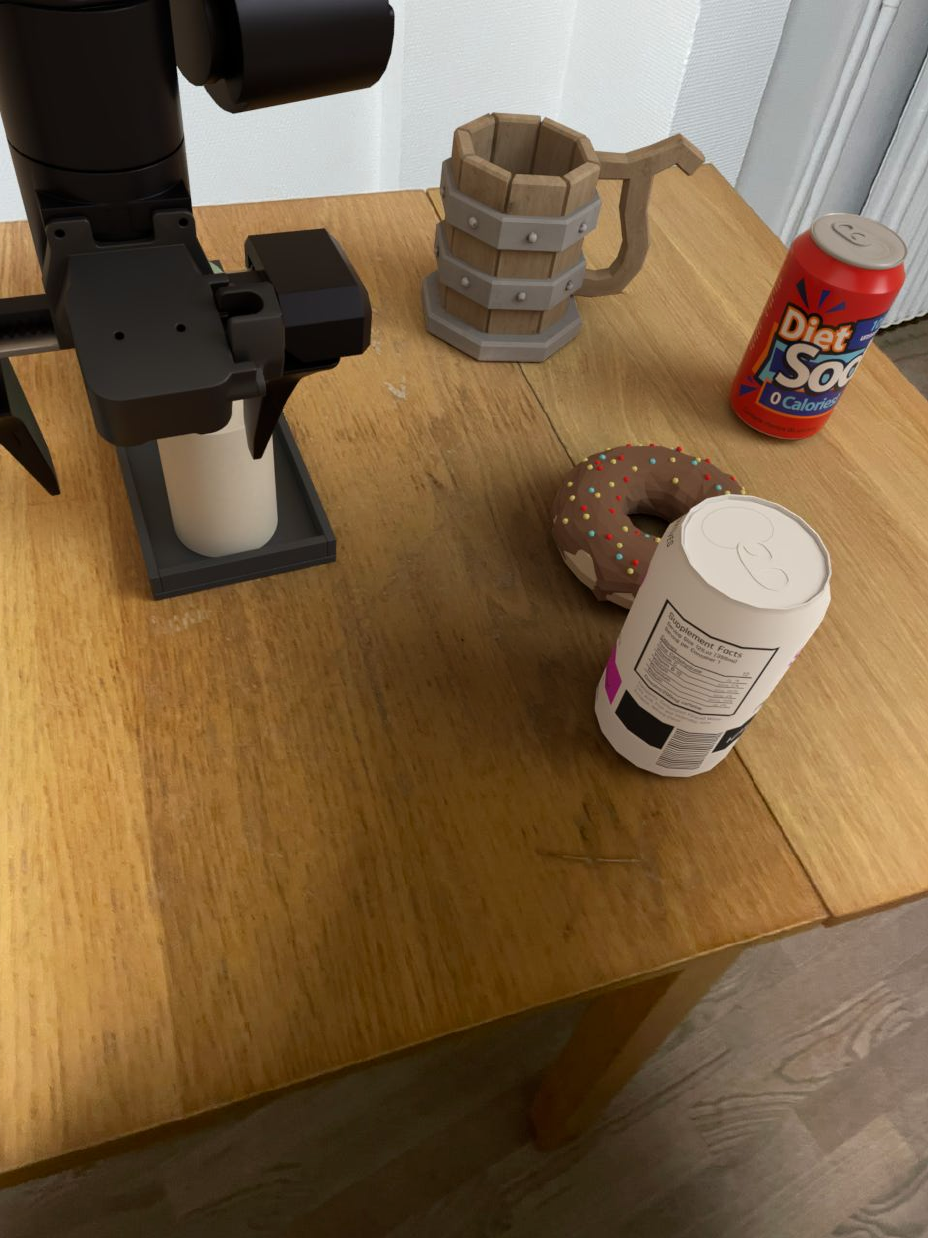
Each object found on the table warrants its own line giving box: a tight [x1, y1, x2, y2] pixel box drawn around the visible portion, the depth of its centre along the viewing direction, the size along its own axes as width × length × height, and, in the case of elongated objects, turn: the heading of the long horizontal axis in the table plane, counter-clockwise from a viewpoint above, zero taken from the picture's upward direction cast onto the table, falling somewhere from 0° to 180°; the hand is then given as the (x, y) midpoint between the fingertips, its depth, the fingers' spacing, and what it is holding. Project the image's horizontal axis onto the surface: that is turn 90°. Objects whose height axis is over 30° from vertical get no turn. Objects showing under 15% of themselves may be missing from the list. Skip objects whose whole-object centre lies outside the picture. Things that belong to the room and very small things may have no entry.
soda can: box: [728, 212, 908, 440], centre depth 66 cm, size 8×8×15 cm
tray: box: [114, 259, 337, 602], centre depth 63 cm, size 11×31×2 cm, turn 22°
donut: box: [547, 443, 747, 610], centre depth 59 cm, size 14×14×5 cm
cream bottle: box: [157, 400, 278, 558], centre depth 53 cm, size 6×6×13 cm
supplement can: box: [594, 494, 833, 778], centre depth 47 cm, size 8×8×15 cm
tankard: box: [420, 111, 706, 363], centre depth 70 cm, size 20×13×15 cm, turn 97°
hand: (158, 471), depth 43 cm, fingers open, 9 cm apart
